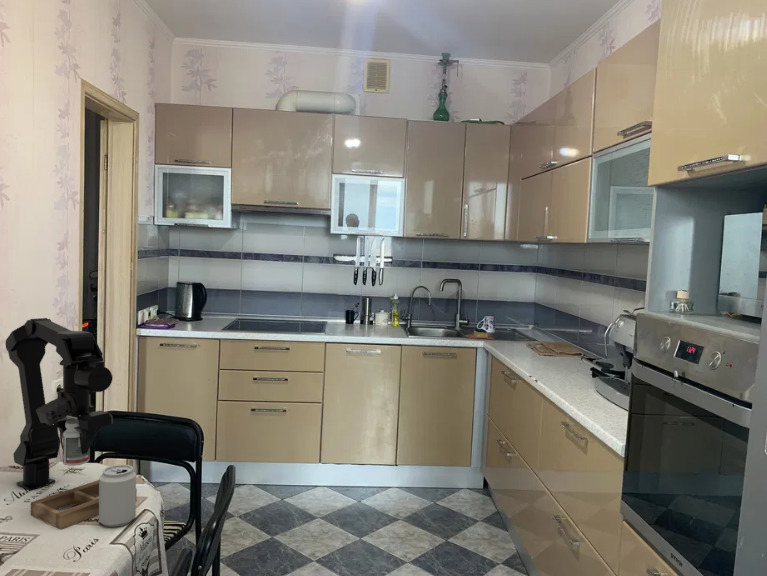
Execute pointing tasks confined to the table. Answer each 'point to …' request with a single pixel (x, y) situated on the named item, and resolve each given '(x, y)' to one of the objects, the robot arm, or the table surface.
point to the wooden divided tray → (78, 496)
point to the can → (117, 495)
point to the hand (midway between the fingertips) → (76, 451)
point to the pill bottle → (73, 445)
